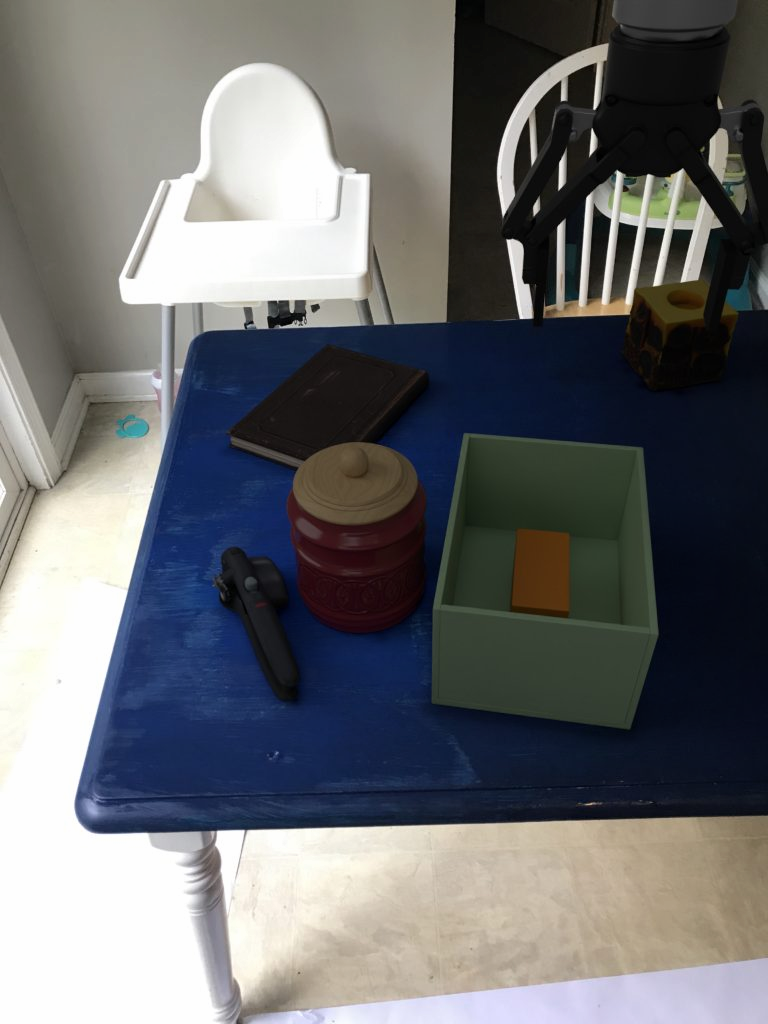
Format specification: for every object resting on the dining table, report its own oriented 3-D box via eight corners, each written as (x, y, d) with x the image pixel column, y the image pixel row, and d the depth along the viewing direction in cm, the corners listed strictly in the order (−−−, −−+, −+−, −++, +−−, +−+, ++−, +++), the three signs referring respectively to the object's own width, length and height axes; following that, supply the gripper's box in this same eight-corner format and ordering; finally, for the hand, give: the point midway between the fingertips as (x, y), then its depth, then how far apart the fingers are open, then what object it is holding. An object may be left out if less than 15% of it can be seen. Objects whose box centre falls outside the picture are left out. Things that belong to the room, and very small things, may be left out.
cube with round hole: (650, 393, 108) (665, 325, 102) (618, 353, 116) (630, 287, 109) (722, 382, 110) (742, 314, 103) (686, 343, 117) (702, 277, 110)
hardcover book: (228, 446, 103) (225, 432, 101) (328, 357, 117) (327, 343, 116) (338, 485, 96) (337, 470, 95) (429, 386, 111) (429, 371, 109)
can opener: (210, 583, 85) (200, 544, 82) (275, 564, 87) (268, 525, 83) (253, 720, 73) (244, 682, 69) (328, 695, 75) (323, 656, 71)
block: (562, 575, 84) (569, 532, 80) (561, 654, 76) (569, 611, 72) (512, 570, 84) (517, 528, 80) (506, 648, 77) (511, 605, 73)
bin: (621, 542, 88) (643, 447, 79) (630, 729, 71) (658, 634, 63) (459, 526, 91) (463, 432, 82) (431, 703, 74) (432, 608, 65)
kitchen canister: (387, 656, 78) (381, 517, 66) (273, 607, 83) (249, 470, 71) (447, 567, 86) (452, 430, 74) (341, 528, 91) (329, 393, 79)
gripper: (863, 7, 54) (775, 303, 68) (479, 15, 58) (472, 294, 72) (897, 37, 49) (794, 351, 63) (471, 43, 52) (465, 339, 67)
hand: (622, 321), depth 68 cm, fingers open, 13 cm apart
